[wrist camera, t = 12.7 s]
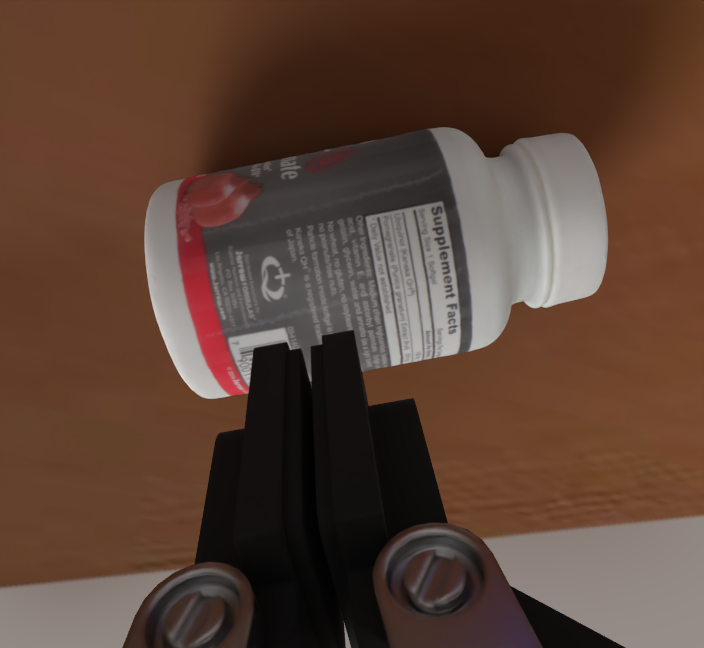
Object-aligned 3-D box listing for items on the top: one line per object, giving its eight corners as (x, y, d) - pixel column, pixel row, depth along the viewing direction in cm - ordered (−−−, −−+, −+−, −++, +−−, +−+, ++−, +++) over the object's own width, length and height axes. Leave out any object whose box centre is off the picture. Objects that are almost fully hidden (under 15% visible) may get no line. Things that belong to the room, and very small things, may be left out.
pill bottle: (171, 167, 17) (532, 95, 17) (224, 345, 19) (544, 283, 19) (111, 211, 12) (626, 109, 12) (191, 447, 14) (628, 364, 14)
